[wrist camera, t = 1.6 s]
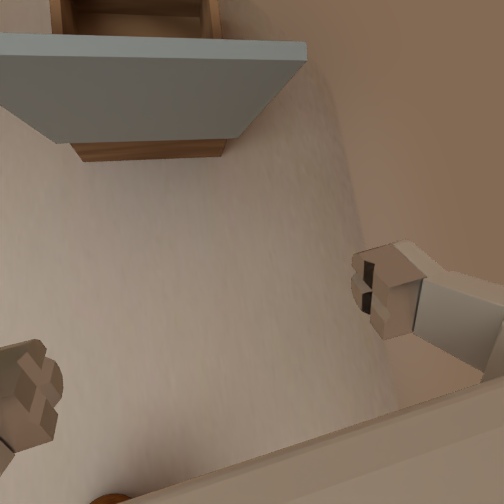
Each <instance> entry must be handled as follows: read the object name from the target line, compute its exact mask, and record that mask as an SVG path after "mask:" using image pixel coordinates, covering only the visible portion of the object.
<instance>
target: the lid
mask: <svg viewBox="0 0 504 504" xmlns="http://www.w3.org/2000/svg"><path fill="white" fill-rule="evenodd" d="M306 61H307V48H306V42H297V41H264V40H230V39H196V38H163V37H129V36H95V35H62V34H28V33H0V105H1V106H2V107H4V108H5V109H7V110H8V111H10V112H11V113H12V114H14V115H15V116H17V117H18V118H20V119H21V120H23V121H24V122H26V123H27V124H28V125H30V126H31V127H33V128H34V129H36V130H37V131H39V132H40V133H42V134H43V135H44V136H46V137H47V138H49V139H50V140H52V141H53V142H55V143H56V144H61V143H95V142H129V141H162V140H196V139H230V138H238V137H239V136H240V135H241V134H242V133H243V132H244V131H245V129H246V128H247V127H248V126H249V125H250V124H251V123H252V122H253V121H254V119H255V118H256V117H257V116H258V115H259V114H260V113H261V112H262V110H263V109H264V108H265V107H266V106H267V105H268V104H269V103H270V102H271V100H272V99H273V98H274V97H275V96H276V95H277V94H278V93H279V91H280V90H281V89H282V88H283V87H284V86H285V85H286V84H287V82H288V81H289V80H290V79H291V78H292V77H293V76H294V75H295V74H296V72H297V71H298V70H299V69H300V68H301V67H302V66H303V65H304V63H305V62H306Z"/></svg>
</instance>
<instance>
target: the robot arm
mask: <svg viewBox="0 0 504 504" xmlns="http://www.w3.org/2000/svg"><path fill="white" fill-rule="evenodd" d="M352 267H353V269H354V270H355V271H356V273H355V274H354V275H353V277H352V278H351V289H352V293H353V297H354V300H355V302H356V304H357V305H358V307H359V308H360V310H361V311H362V312H365V313H367V314H369V315H370V323H371V325H372V326H373V328H374V329H375V330H376V332H377V333H378V334H379V336H380V337H381V338H382V340H387V339H390V338H394V337H398V336H401V335H405V334H408V333H412V332H414V333H413V334H414V335H416V336H418V337H420V338H422V339H424V340H425V341H427V342H429V343H431V344H433V345H434V346H436V347H438V348H440V349H442V350H443V351H445V352H447V353H449V354H451V355H453V356H454V357H456V358H459V359H460V360H462V361H463V362H465V363H467V364H469V365H471V366H472V367H474V368H476V369H478V370H480V371H482V372H483V373H484V374H483V376H482V379H481V382H480V383H479V384H476V385H473V386H471V387H467V388H464V389H461V390H458V391H455V392H453V393H449V394H446V395H443V396H440V397H437V398H434V399H431V400H428V401H425V402H422V403H419V404H416V405H413V406H410V407H407V408H404V409H401V410H398V411H395V412H392V413H389V414H386V415H383V416H380V417H377V418H374V419H371V420H368V421H365V422H362V423H359V424H356V425H353V426H350V427H347V428H344V429H341V430H338V431H335V432H332V433H329V434H326V435H323V436H320V437H317V438H314V439H311V440H308V441H305V442H302V443H299V444H296V445H293V446H290V447H287V448H283V449H280V450H277V451H274V452H271V453H268V454H265V455H262V456H259V457H256V458H253V459H250V460H247V461H244V462H241V463H238V464H235V465H232V466H229V467H226V468H223V469H220V470H217V471H214V472H211V473H208V474H205V475H202V476H199V477H196V478H193V479H190V480H187V481H184V482H181V483H178V484H175V485H172V486H169V487H166V488H163V489H160V490H157V491H154V492H151V493H148V494H145V495H142V496H139V497H136V498H133V499H130V500H127V501H124V502H121V503H118V504H504V286H503V285H499V284H496V283H493V282H489V281H486V280H482V279H479V278H475V277H473V276H469V275H466V274H462V273H459V272H456V271H449V272H447V271H446V270H444V269H443V268H442V267H441V266H440V265H439V264H437V263H436V262H435V261H434V260H433V259H432V258H430V257H429V256H428V255H427V254H426V253H425V252H423V251H422V250H421V249H420V248H419V247H418V246H416V245H415V244H414V243H413V242H412V241H410V240H408V239H403V240H400V241H397V242H393V243H390V244H388V245H384V246H380V247H377V248H373V249H369V250H366V251H362V252H358V253H355V254H353V257H352ZM46 350H47V349H46V347H45V346H44V345H43V343H42V342H41V341H40V340H37V339H32V340H28V341H24V342H20V343H16V344H12V345H8V346H4V347H0V476H1V475H2V473H3V472H4V470H5V469H6V468H7V466H8V465H9V463H10V462H11V460H12V459H13V458H14V456H15V454H14V453H17V452H20V451H23V450H26V449H29V448H32V447H35V446H38V445H41V444H44V443H47V442H50V441H53V438H54V433H55V428H56V423H57V418H58V413H57V412H56V411H55V409H54V407H55V405H56V404H57V403H58V402H59V401H60V399H61V398H62V393H63V377H62V373H61V371H60V368H59V366H58V365H57V363H56V362H55V361H54V360H52V359H49V358H47V357H45V354H46Z"/></svg>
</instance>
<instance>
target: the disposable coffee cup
mask: <svg viewBox="0 0 504 504" xmlns="http://www.w3.org/2000/svg"><path fill="white" fill-rule="evenodd" d="M130 499H131V498H129V497H127V496H124V495H120V494H109V495H105V496H102V497H100V498H97V499H96V500H94V501H93V502H91V503H90V504H118V503H121V502H124V501H127V500H130Z"/></svg>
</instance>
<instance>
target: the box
mask: <svg viewBox="0 0 504 504" xmlns="http://www.w3.org/2000/svg"><path fill="white" fill-rule="evenodd" d="M49 1H50V13H51V25H52V34H62V35H95V36H129V37H163V38H196V39H222V32H221V23H220V14H219V5H218V0H49ZM226 141H227V139H196V140H162V141H129V142H95V143H70V144H71V145H72V147H73V148H74V150H75V151H76V152H77V154H78V155H79V157H80V158H81V159H82V161H83V162H96V161H121V160H146V159H170V158H195V157H220V156H221V154H222V151H223V149H224V146H225V143H226Z"/></svg>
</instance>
